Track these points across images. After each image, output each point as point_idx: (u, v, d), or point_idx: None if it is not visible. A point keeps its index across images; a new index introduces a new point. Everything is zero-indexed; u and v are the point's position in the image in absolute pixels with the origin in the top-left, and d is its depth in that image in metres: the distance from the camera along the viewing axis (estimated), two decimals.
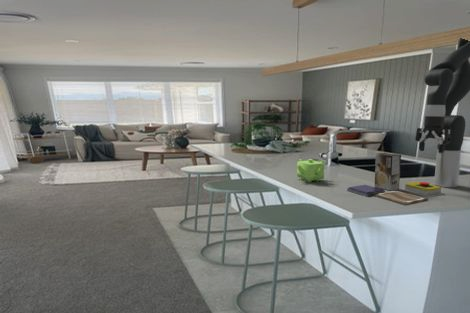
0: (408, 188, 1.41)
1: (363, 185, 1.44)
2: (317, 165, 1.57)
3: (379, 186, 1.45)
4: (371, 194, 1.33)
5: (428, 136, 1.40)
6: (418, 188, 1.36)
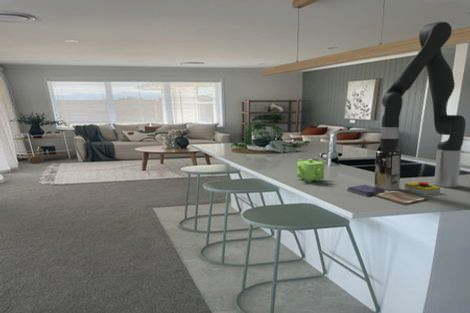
0: (407, 188, 1.41)
1: (363, 185, 1.44)
2: (317, 165, 1.57)
3: (379, 186, 1.45)
4: (371, 194, 1.33)
5: None
6: (416, 188, 1.36)
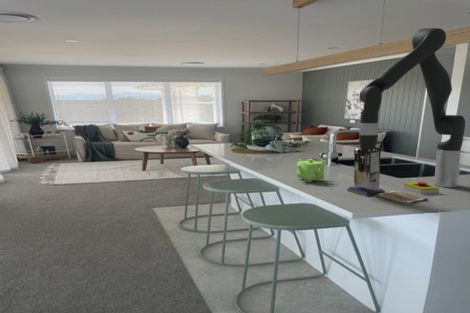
0: (406, 187, 1.42)
1: None
2: (317, 165, 1.57)
3: (358, 184, 1.39)
4: (371, 194, 1.33)
5: None
6: (414, 187, 1.37)
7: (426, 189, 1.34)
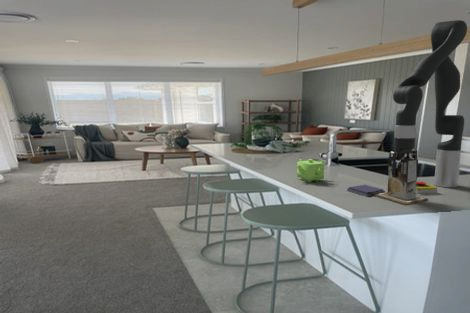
0: None
1: (363, 185, 1.44)
2: (317, 165, 1.57)
3: (393, 194, 1.29)
4: (371, 194, 1.33)
5: None
6: None
7: (423, 189, 1.34)
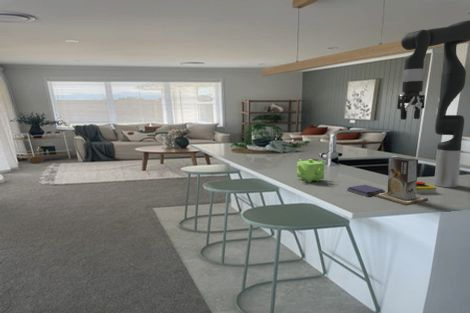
0: None
1: (363, 185, 1.44)
2: (317, 165, 1.57)
3: (393, 194, 1.29)
4: (371, 194, 1.33)
5: (411, 103, 1.32)
6: None
7: (421, 189, 1.35)
